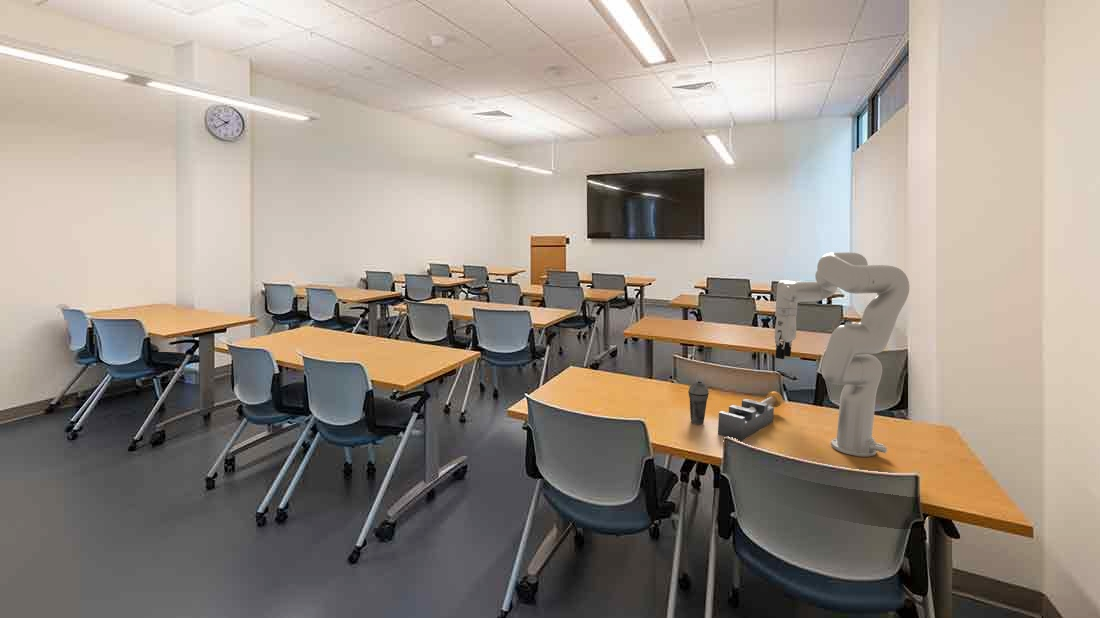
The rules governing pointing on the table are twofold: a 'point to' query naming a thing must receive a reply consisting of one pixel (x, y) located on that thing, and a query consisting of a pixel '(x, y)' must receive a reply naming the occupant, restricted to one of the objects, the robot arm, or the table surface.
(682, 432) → the table surface
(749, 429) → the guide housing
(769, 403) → the shaft
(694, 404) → the beverage cup
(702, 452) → the table surface
